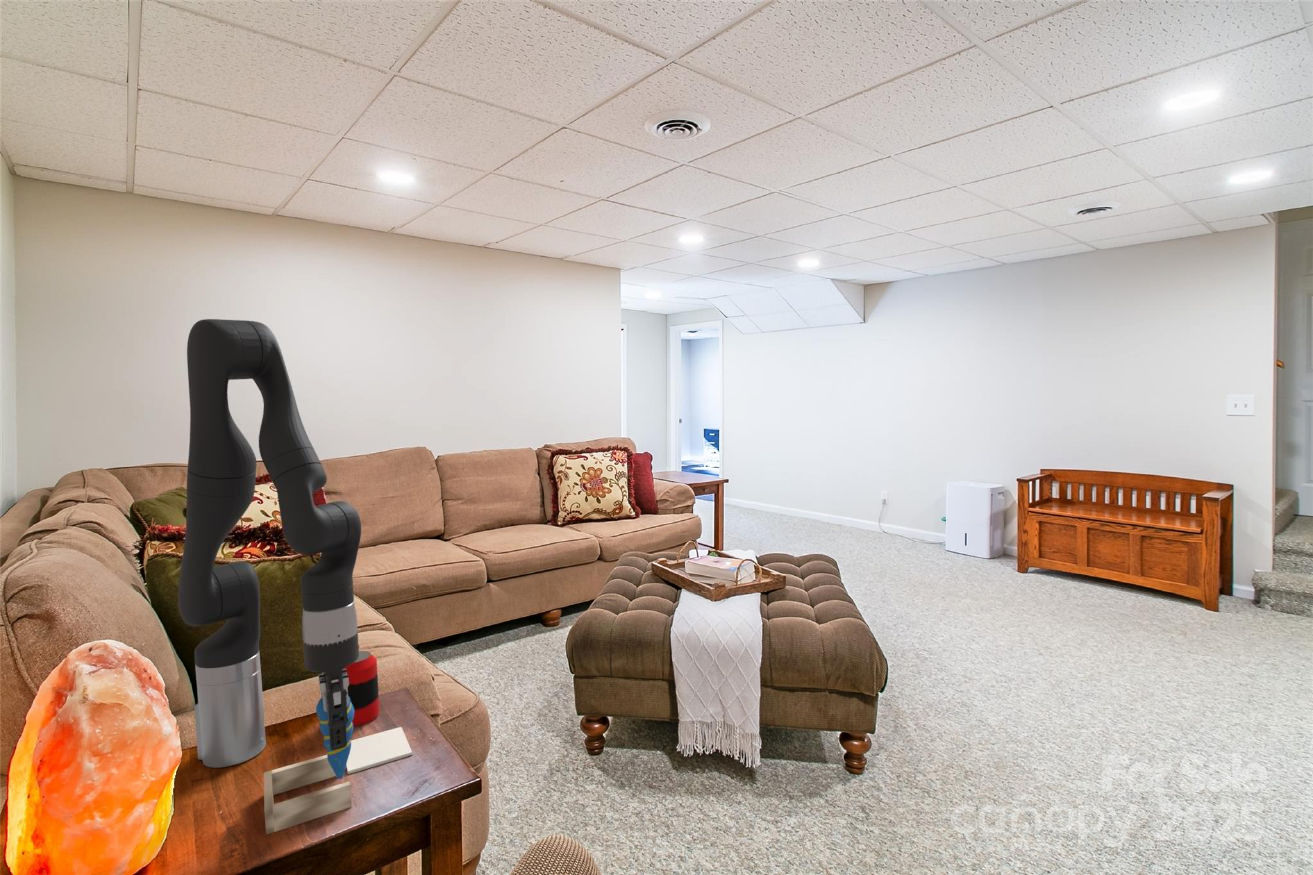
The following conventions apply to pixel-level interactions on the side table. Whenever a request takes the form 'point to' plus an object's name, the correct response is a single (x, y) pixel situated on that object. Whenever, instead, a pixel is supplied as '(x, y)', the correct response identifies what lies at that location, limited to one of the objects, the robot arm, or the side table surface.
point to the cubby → (307, 804)
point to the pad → (377, 750)
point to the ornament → (334, 756)
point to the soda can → (363, 688)
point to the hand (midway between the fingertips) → (337, 739)
